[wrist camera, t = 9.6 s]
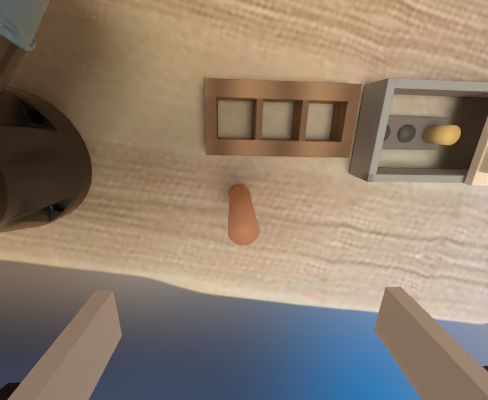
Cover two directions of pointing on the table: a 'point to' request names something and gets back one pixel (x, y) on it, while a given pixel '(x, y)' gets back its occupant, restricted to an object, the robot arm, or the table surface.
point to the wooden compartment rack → (302, 95)
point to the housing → (406, 130)
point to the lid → (479, 161)
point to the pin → (241, 217)
